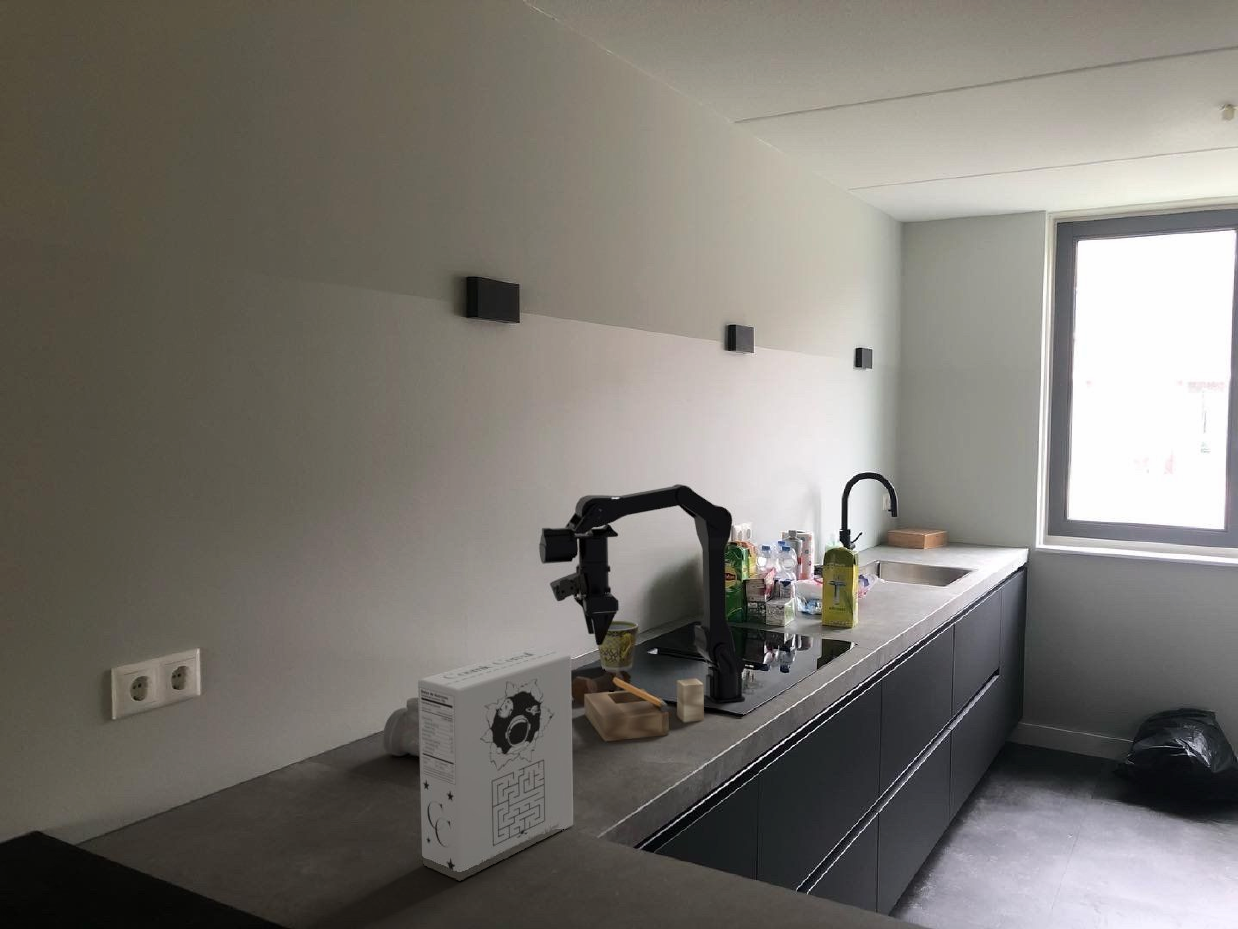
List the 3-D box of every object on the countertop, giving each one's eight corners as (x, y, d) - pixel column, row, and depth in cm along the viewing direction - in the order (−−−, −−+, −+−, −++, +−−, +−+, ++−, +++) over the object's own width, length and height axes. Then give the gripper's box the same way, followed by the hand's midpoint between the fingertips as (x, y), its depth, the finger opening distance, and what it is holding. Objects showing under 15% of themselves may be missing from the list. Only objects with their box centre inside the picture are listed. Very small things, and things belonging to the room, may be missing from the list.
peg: (696, 713, 191) (696, 678, 191) (703, 720, 187) (703, 684, 187) (677, 715, 190) (676, 680, 190) (683, 722, 186) (683, 685, 186)
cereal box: (536, 812, 146) (533, 646, 144) (574, 825, 141) (571, 654, 139) (421, 866, 129) (416, 679, 128) (459, 883, 124) (455, 689, 123)
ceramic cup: (588, 665, 227) (587, 623, 226) (627, 660, 231) (626, 618, 231) (611, 679, 215) (611, 634, 215) (652, 674, 219) (651, 629, 219)
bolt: (629, 695, 210) (582, 710, 199) (613, 680, 213) (566, 694, 201) (639, 674, 208) (593, 688, 197) (623, 659, 211) (576, 672, 199)
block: (643, 708, 195) (643, 682, 194) (668, 734, 179) (668, 705, 179) (584, 714, 191) (584, 687, 191) (605, 741, 176) (604, 711, 176)
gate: (659, 705, 184) (662, 699, 184) (664, 710, 181) (667, 704, 181) (612, 681, 181) (615, 676, 181) (616, 686, 178) (619, 680, 178)
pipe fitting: (376, 757, 168) (384, 698, 167) (407, 747, 175) (415, 690, 174) (431, 777, 162) (439, 717, 162) (461, 765, 169) (469, 707, 169)
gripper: (546, 555, 199) (548, 631, 200) (559, 570, 181) (561, 653, 182) (600, 552, 201) (602, 627, 202) (618, 567, 183) (619, 649, 184)
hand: (595, 639), depth 193 cm, fingers open, 9 cm apart
